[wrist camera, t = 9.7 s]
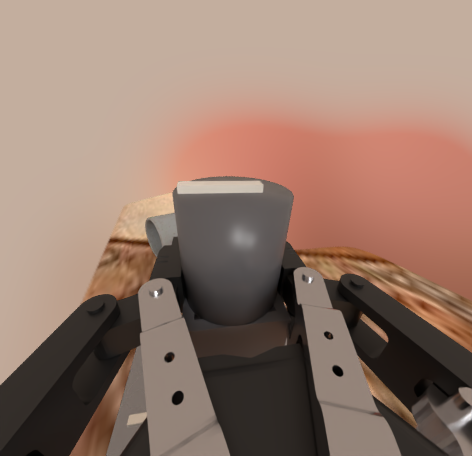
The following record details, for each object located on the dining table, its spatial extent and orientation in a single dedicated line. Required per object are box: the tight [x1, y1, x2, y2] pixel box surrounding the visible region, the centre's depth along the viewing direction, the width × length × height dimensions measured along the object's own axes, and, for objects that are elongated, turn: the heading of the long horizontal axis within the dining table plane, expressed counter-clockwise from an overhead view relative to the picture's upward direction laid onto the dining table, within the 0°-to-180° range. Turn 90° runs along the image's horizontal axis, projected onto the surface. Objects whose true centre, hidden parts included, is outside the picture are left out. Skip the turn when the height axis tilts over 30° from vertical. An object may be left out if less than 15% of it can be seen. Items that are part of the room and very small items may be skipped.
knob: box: [173, 176, 294, 358], centre depth 10 cm, size 5×5×11 cm
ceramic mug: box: [145, 213, 178, 257], centre depth 38 cm, size 11×8×8 cm
